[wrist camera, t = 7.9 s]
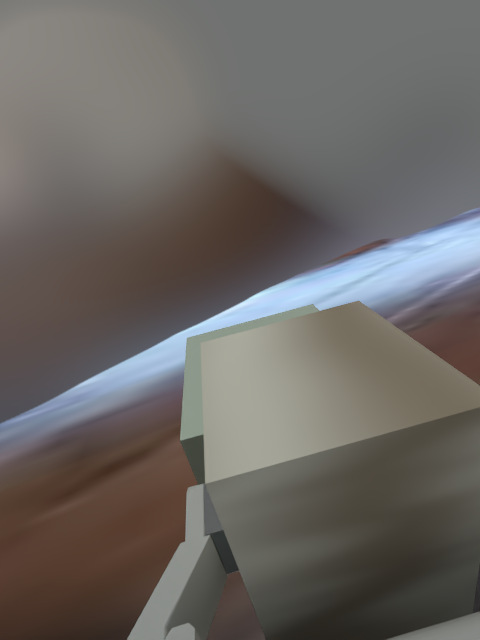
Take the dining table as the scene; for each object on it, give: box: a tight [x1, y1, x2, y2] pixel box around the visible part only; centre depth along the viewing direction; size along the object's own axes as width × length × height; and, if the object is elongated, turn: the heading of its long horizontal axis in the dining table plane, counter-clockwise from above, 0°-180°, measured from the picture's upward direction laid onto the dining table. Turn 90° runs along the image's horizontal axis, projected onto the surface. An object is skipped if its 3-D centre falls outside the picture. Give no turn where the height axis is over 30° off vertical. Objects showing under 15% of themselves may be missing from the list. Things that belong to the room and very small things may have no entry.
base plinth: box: [180, 304, 319, 485], centre depth 26 cm, size 13×14×4 cm
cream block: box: [200, 301, 480, 640], centre depth 9 cm, size 5×5×10 cm
